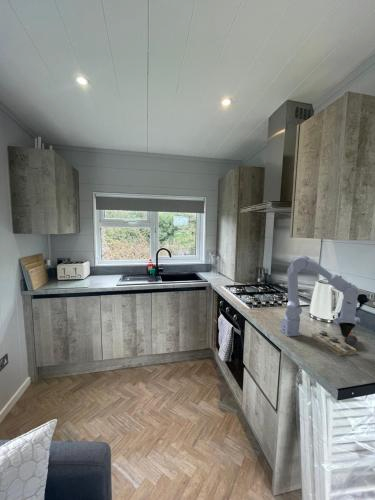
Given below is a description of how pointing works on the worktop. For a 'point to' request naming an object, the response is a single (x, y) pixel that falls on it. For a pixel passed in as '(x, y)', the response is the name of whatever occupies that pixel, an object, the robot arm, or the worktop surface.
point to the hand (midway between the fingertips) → (344, 336)
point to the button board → (333, 344)
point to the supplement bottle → (351, 339)
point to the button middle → (334, 339)
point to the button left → (323, 333)
